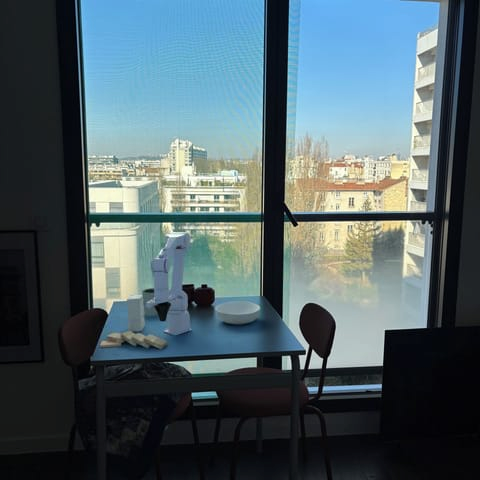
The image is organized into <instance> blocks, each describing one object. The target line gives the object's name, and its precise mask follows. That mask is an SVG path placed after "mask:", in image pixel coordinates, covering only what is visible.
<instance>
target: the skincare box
mask: <svg viewBox="0 0 480 480" xmlns="http://www.w3.org/2000/svg"><path fill="white" fill-rule="evenodd" d="M126 306H127V309H126V310H127V320H128V331H129V330H130V331H131V332H143V329H144V327H146V324H145V315H144V306H143V295H142V294H136V295H135V294H133V295H130V296H128V298H127V299H126Z"/></svg>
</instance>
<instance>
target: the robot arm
mask: <svg viewBox="0 0 480 480" xmlns="http://www.w3.org/2000/svg"><path fill="white" fill-rule="evenodd" d="M190 246H191V237H190V233H189V232H188V231H186V232H185V231H184V232H180V231H178V232H177V231H176V232H174V231H173V232H171V231H168V232H167V233H166V234H165V246H164V247H162V248H161V249H160V251H159V252H158V254H157V256H156V257H154V258H153V259H152V260H151V262H150V270H151V275H152V277H153V288H154V295H155V297H154V299H153V300H151V301H148V302H146V307H148V308H151V307H152V306H154V308H155V309H156V311H157V313H158V318H159V321H160V322H162V323H164V322H166V320H167V329H165V330H163V332H164V333H167V334H169V335H172V336H178V335H181V334H183V333H186V332H190V331H192V328H191V316H190V313H189V311H188V305H189V303H188V299H189V296H188V294H187V293H186V292H185V291H184V290H183V281H184V270H185V260H186V259H185V257H186V254H187V253H189V252H190ZM172 260H173V263H172V262H171V261H172ZM171 265H172V276H171V284H170V285H169V272H170V268H171ZM169 286H170V287H169Z"/></svg>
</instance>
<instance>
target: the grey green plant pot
mask: <svg viewBox="0 0 480 480" xmlns="http://www.w3.org/2000/svg"><path fill="white" fill-rule="evenodd" d="M141 295H143V308H144V317H157V316H158V313H157V311H156V309H155V308H154V306H152V307H151V308H148V307H146V302H148V301H151V300H153V299H154V297H155V295H154V287H153V288H145V289H143V290H142V291H141ZM158 317H159V316H158Z"/></svg>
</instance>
